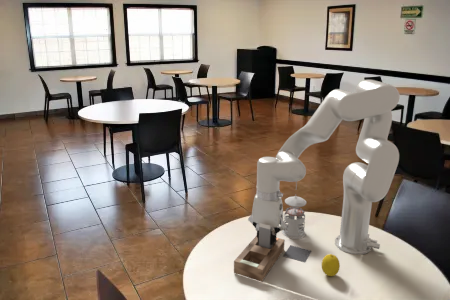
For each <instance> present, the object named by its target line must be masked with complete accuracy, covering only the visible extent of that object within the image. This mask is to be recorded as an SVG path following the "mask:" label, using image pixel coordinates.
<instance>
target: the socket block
mask: <svg viewBox="0 0 450 300" xmlns="http://www.w3.org/2000/svg"><path fill="white" fill-rule="evenodd" d="M285 242H286V241H285V239H283V238H279V237H277V236H276V242H274V246H273V247H272V249H268V248H265V247H261V246H259V242H258V238H257V234H256V235H255V237H254V238H253V239H252V240H251V241H250V242H249V243H248V245H247V246H246V247H245V248H244V249H243V250H242V251H241V252H240V254H238V256H237V257H236V258H235V260H234V261H233V274H237V275H240V276H242V277H246V278H248V279H252V280H255V281H257V282H261V283H263V281H264V279H265V278H266V276H267V275H268V273H269V272H270V270H271V269H272V268H273V266H274V265H275V264H276V263H277V261H278V259H280V256H281V255H282V254H283V252H284V251H285Z"/></svg>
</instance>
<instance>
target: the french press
mask: <svg viewBox="0 0 450 300" xmlns="http://www.w3.org/2000/svg"><path fill="white" fill-rule="evenodd" d="M297 185H298V181H296V182H295V189H297ZM284 203H285V204H286V205H287V206H289V207H287V208H285V212H283V221H284V223H285V224H286V226H287V228H286V229H285V230H282V231H281V233H282V235H283V236H284V237H286V238H288V239H293V240H294V239H295V240H298V239H299V240H300V239H302V238H304V237H305V236H306V231H305V224H306V222H305V220H306V214H305V210H304V209H302V208H301V207H305V206H306V205H307V201H306V200H305V199H304V198H302V197H300V196H297V195H294V196H289V197H287V198H285V199H284ZM295 218H296V219H295Z"/></svg>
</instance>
